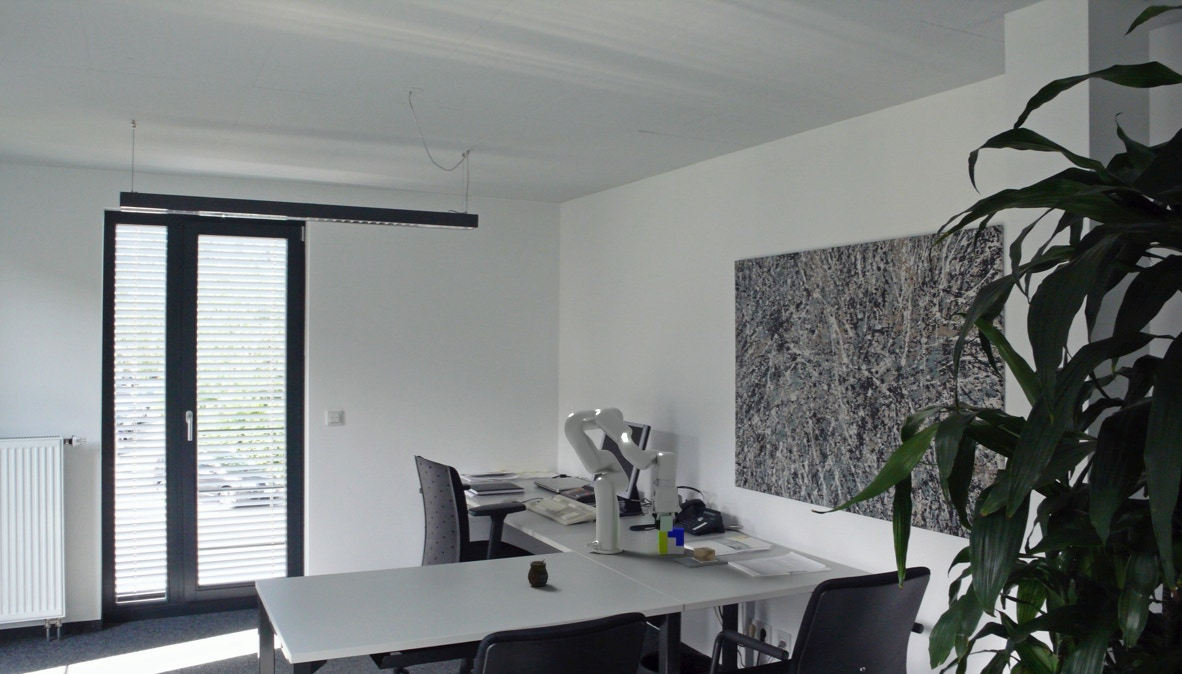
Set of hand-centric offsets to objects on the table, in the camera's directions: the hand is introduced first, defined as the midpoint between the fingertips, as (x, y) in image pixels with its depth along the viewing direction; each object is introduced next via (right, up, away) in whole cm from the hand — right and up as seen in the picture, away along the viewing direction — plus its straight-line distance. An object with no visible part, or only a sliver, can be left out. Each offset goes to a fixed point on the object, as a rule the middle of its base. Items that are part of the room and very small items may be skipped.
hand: (663, 528), depth 347 cm
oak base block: (+16, -11, -5) cm, 20 cm away
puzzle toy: (+4, -12, +13) cm, 18 cm away
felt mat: (+14, -12, -6) cm, 19 cm away
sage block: (0, -1, 0) cm, 1 cm away
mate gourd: (-47, -12, -39) cm, 62 cm away
